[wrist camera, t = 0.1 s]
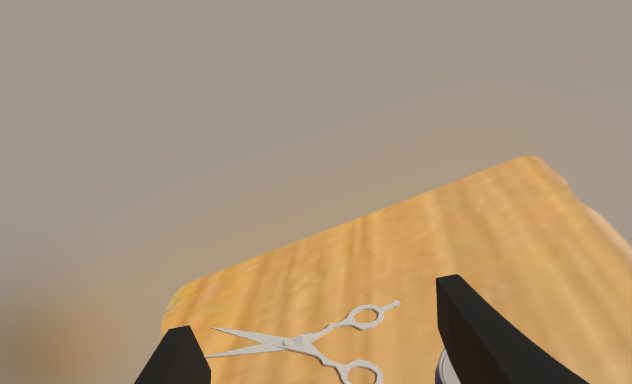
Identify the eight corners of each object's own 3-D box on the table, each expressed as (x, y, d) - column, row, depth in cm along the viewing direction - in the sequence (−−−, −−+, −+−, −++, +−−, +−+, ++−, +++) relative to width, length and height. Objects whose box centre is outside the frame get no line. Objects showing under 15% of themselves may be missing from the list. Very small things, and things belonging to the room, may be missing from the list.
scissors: (400, 392, 34) (178, 384, 38) (401, 399, 34) (180, 390, 39) (400, 300, 43) (220, 303, 47) (401, 306, 43) (222, 308, 48)
